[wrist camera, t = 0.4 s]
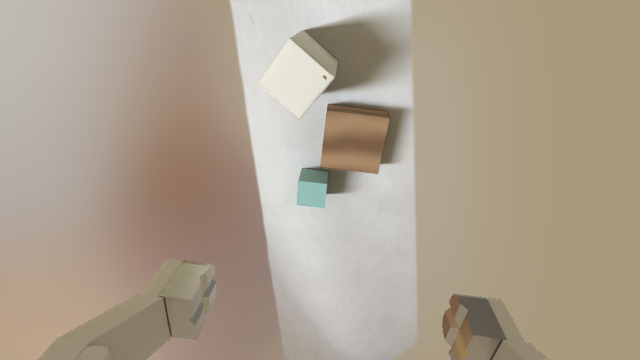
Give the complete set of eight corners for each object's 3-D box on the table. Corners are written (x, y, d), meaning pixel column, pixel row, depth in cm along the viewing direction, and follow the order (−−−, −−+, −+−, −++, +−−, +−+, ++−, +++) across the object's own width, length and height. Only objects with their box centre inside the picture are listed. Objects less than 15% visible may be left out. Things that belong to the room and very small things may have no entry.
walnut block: (328, 103, 55) (326, 110, 51) (387, 110, 54) (389, 118, 51) (321, 157, 59) (320, 166, 56) (376, 163, 59) (377, 173, 56)
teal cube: (302, 168, 60) (298, 180, 56) (328, 171, 60) (327, 184, 56) (300, 190, 63) (296, 204, 58) (325, 193, 63) (324, 208, 58)
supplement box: (303, 28, 49) (290, 35, 38) (339, 62, 51) (337, 78, 40) (274, 66, 52) (254, 83, 41) (309, 97, 54) (300, 121, 43)
